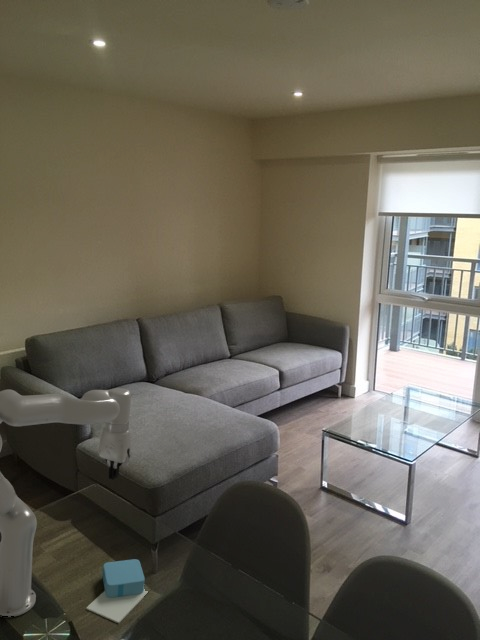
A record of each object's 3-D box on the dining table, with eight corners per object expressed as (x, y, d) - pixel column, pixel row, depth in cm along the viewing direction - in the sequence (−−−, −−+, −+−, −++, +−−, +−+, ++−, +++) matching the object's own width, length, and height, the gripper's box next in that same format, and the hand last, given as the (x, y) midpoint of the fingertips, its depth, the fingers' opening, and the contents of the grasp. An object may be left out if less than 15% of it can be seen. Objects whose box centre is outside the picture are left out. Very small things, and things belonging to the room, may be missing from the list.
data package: (106, 599, 168) (144, 593, 172) (107, 586, 167) (145, 580, 172) (101, 574, 179) (137, 570, 183) (102, 562, 178) (138, 558, 183)
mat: (86, 609, 164) (86, 607, 163) (121, 576, 180) (121, 575, 180) (118, 623, 159) (118, 622, 159) (151, 589, 175) (151, 587, 175)
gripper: (91, 423, 177) (88, 475, 180) (129, 434, 171) (125, 488, 174) (105, 417, 184) (102, 467, 187) (142, 427, 178) (138, 479, 181)
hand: (113, 477), depth 180 cm, fingers closed
